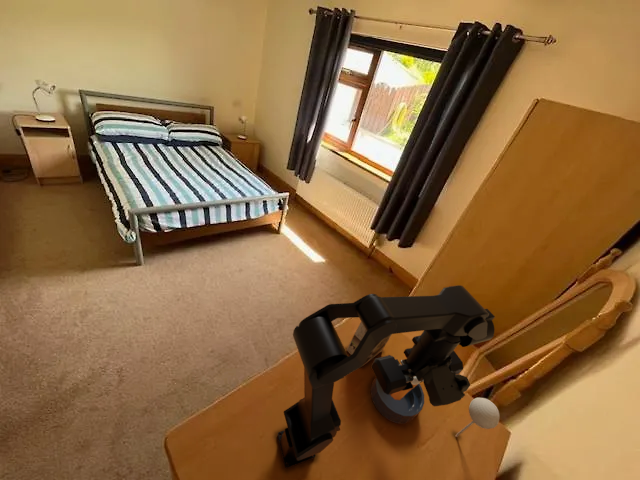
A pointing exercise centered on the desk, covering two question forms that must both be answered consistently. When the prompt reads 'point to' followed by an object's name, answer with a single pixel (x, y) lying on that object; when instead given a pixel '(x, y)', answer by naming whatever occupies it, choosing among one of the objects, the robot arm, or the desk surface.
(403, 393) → the milkshake
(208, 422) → the desk surface
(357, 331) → the coffee box
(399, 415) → the bowl
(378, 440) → the desk surface
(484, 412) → the lollipop
